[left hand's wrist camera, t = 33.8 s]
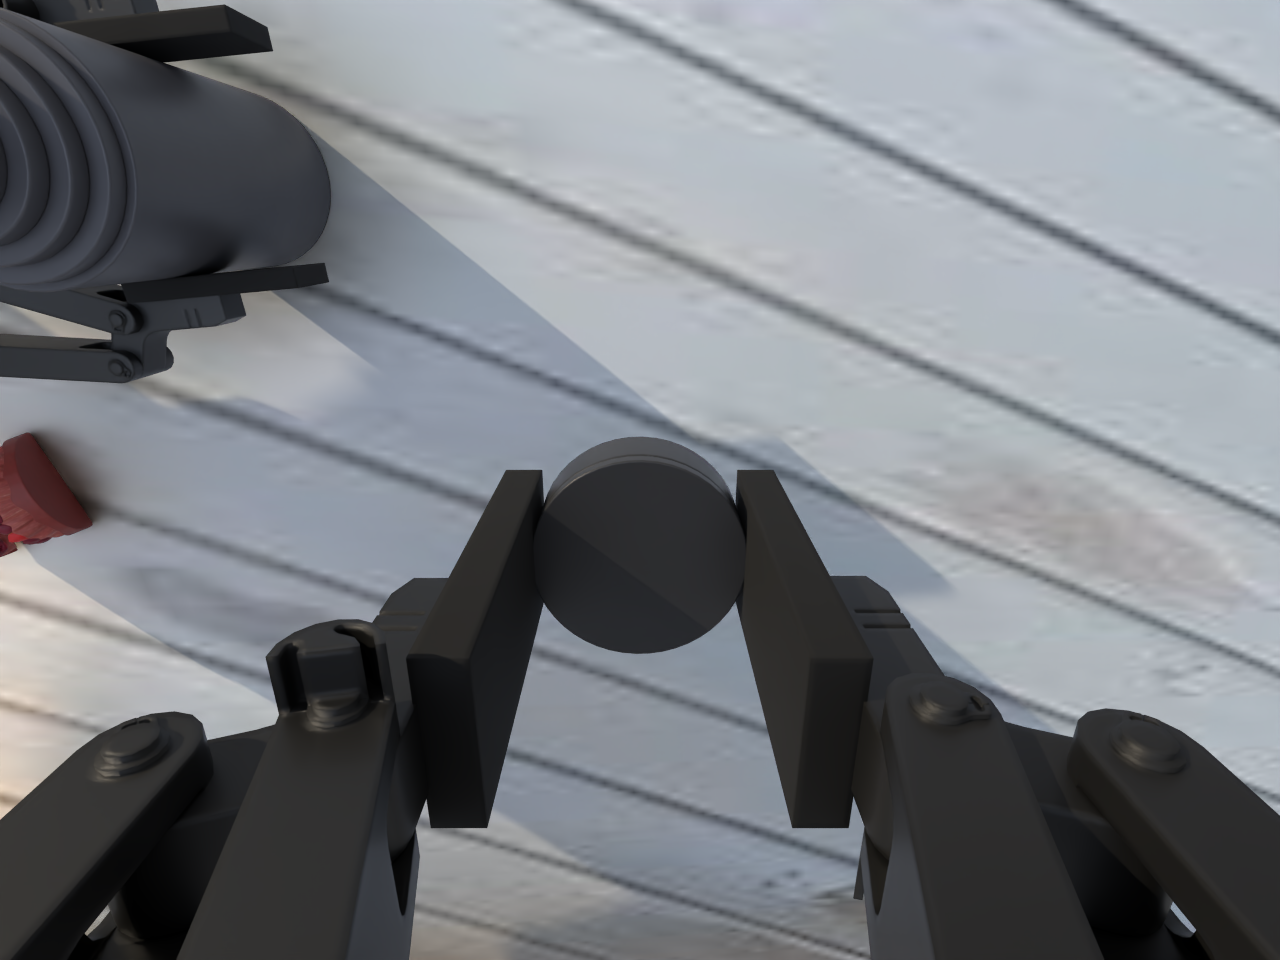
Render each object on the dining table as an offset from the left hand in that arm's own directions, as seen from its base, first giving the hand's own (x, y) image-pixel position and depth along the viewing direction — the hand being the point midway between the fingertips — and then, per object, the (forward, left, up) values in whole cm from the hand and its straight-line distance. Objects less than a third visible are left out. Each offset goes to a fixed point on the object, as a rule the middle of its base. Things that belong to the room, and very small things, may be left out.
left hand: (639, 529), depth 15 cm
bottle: (-4, +19, -21) cm, 29 cm away
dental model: (-25, +23, -21) cm, 40 cm away
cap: (0, 0, +1) cm, 1 cm away
